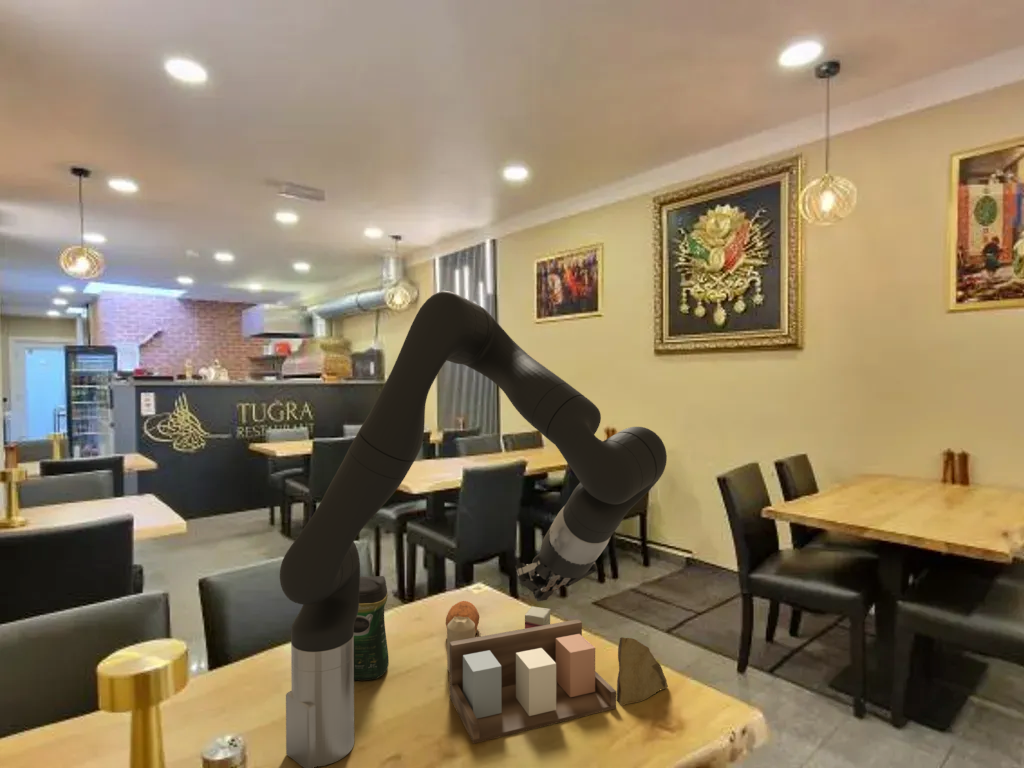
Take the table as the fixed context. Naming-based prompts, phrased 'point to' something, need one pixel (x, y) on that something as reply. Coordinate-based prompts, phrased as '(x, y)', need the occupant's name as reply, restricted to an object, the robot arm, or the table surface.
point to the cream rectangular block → (535, 681)
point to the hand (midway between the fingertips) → (539, 594)
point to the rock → (637, 672)
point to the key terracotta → (575, 665)
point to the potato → (463, 612)
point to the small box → (537, 617)
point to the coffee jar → (370, 630)
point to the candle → (459, 632)
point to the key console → (512, 710)
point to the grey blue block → (482, 683)
